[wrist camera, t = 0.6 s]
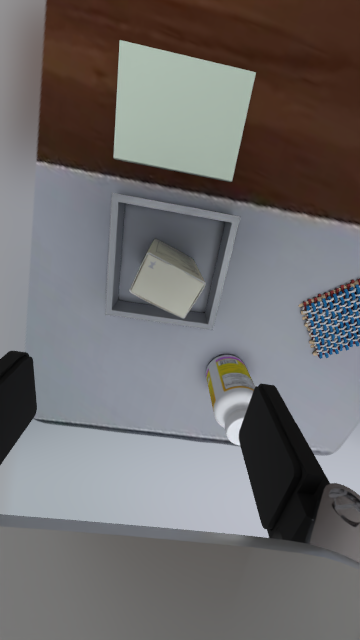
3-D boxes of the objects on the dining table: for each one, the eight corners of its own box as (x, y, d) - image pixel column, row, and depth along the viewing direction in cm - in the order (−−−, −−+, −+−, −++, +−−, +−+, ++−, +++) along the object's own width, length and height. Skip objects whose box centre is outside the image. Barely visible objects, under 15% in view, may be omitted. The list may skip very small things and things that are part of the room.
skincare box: (140, 265, 34) (124, 291, 23) (154, 236, 33) (144, 249, 22) (181, 287, 36) (184, 321, 24) (196, 260, 34) (207, 283, 23)
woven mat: (365, 271, 36) (376, 274, 34) (375, 331, 40) (385, 337, 38) (295, 301, 37) (301, 305, 35) (311, 355, 41) (317, 362, 39)
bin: (233, 216, 32) (240, 216, 28) (209, 318, 38) (212, 330, 34) (119, 195, 31) (111, 192, 27) (112, 304, 36) (105, 314, 33)
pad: (253, 77, 27) (255, 72, 26) (230, 182, 30) (231, 181, 29) (121, 46, 25) (119, 40, 24) (115, 159, 29) (113, 157, 28)
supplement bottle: (224, 392, 43) (243, 459, 32) (197, 371, 41) (206, 434, 30) (253, 368, 41) (284, 430, 30) (226, 345, 40) (248, 401, 28)
